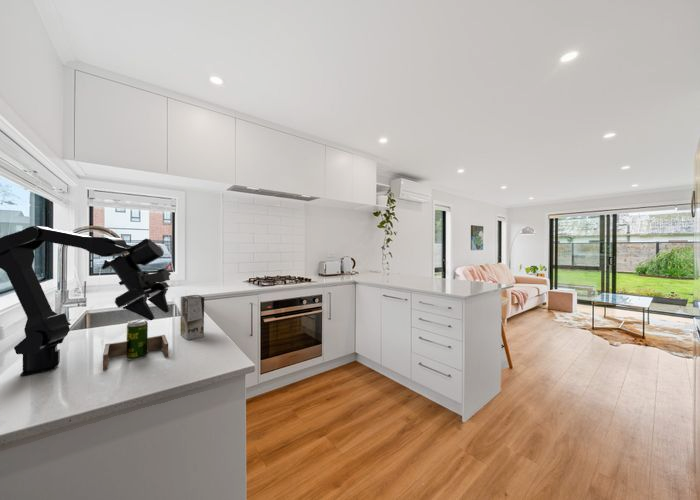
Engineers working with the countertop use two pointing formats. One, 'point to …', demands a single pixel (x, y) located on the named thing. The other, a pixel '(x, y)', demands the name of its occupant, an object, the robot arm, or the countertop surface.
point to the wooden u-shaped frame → (121, 348)
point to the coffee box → (192, 316)
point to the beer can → (137, 339)
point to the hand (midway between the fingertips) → (160, 315)
